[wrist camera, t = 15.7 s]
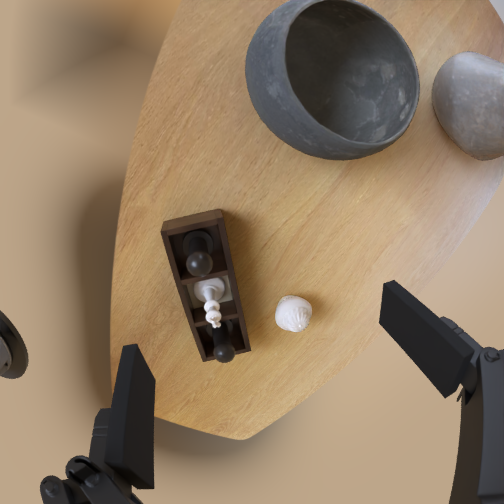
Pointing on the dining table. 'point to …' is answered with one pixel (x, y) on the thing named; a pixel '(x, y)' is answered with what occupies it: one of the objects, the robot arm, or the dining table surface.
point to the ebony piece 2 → (222, 341)
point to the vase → (472, 103)
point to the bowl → (332, 78)
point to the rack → (221, 268)
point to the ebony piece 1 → (198, 252)
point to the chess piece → (210, 298)
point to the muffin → (293, 313)
